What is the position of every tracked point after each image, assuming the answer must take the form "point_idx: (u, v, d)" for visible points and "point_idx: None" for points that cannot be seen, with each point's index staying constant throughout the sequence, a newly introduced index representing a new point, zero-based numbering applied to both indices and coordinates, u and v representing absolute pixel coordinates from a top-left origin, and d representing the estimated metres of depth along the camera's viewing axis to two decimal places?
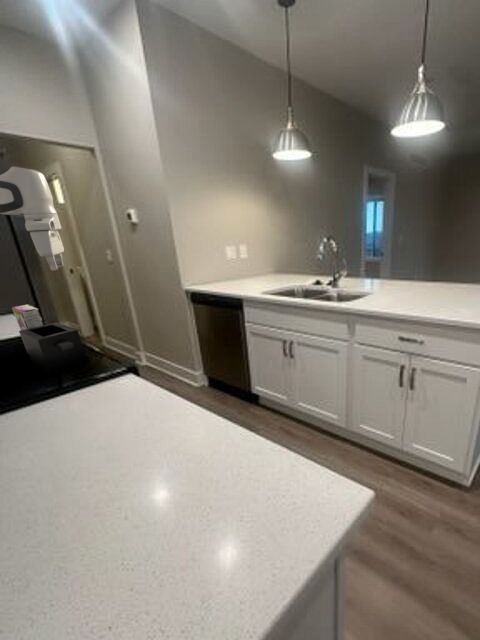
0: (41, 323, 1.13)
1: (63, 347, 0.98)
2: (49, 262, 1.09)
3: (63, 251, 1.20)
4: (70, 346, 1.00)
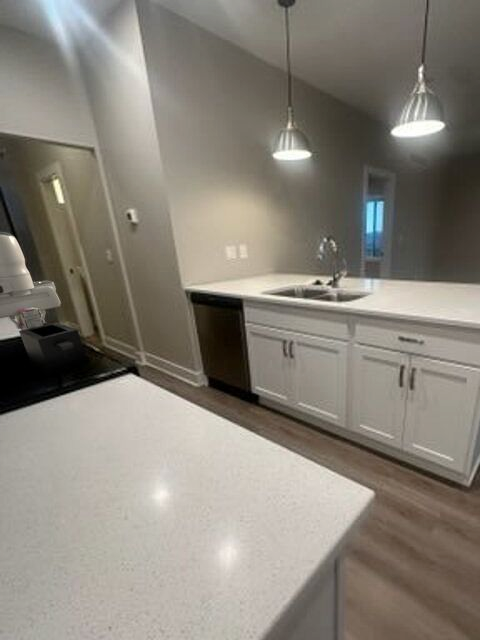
0: (41, 323, 1.13)
1: (63, 347, 0.98)
2: (12, 321, 1.11)
3: (54, 307, 1.18)
4: (70, 346, 1.00)
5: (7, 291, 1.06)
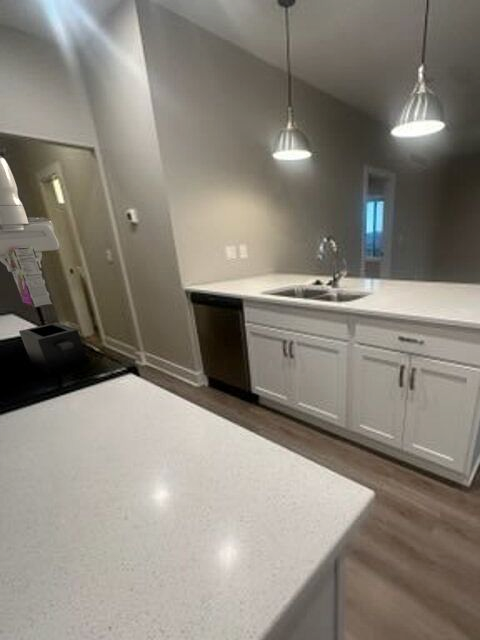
0: (37, 265, 0.97)
1: (63, 347, 0.98)
2: (2, 262, 0.95)
3: (51, 249, 1.02)
4: (70, 346, 1.00)
5: None
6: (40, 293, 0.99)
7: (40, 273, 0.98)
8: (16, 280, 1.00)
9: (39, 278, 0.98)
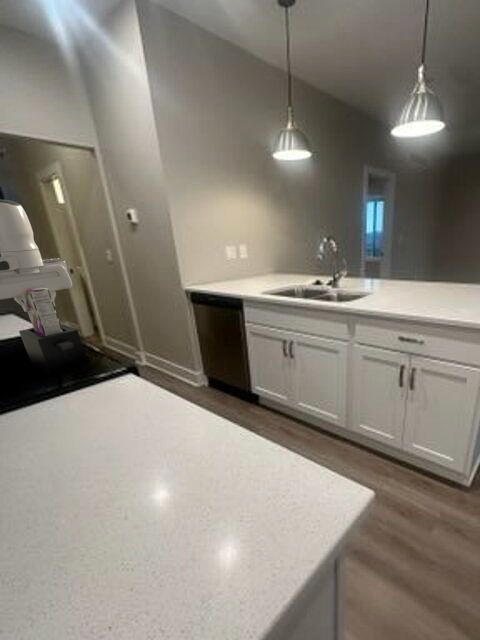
0: (51, 305, 1.01)
1: (63, 347, 0.98)
2: None
3: (65, 288, 1.06)
4: (70, 346, 1.00)
5: (14, 268, 0.94)
6: (54, 331, 1.02)
7: (54, 312, 1.01)
8: (31, 318, 1.04)
9: (54, 318, 1.02)
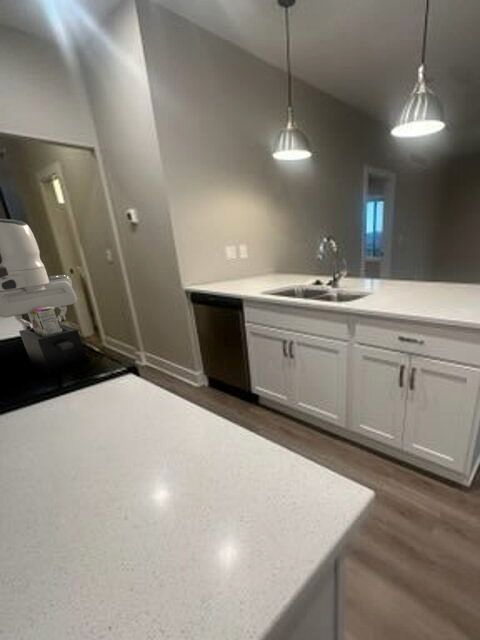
0: (57, 324, 1.03)
1: (63, 347, 0.98)
2: None
3: (70, 304, 1.07)
4: (70, 346, 1.00)
5: (20, 286, 0.95)
6: None
7: (60, 331, 1.04)
8: None
9: None
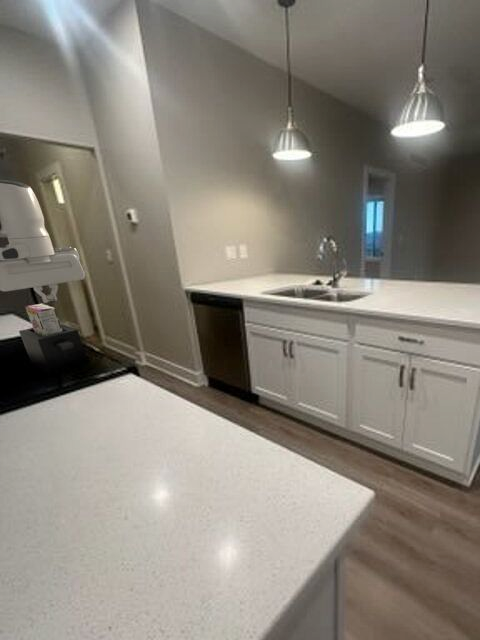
0: (57, 324, 1.03)
1: (63, 347, 0.98)
2: (38, 293, 0.93)
3: (77, 279, 0.98)
4: (70, 346, 1.00)
5: (23, 256, 0.86)
6: None
7: (60, 331, 1.04)
8: None
9: None
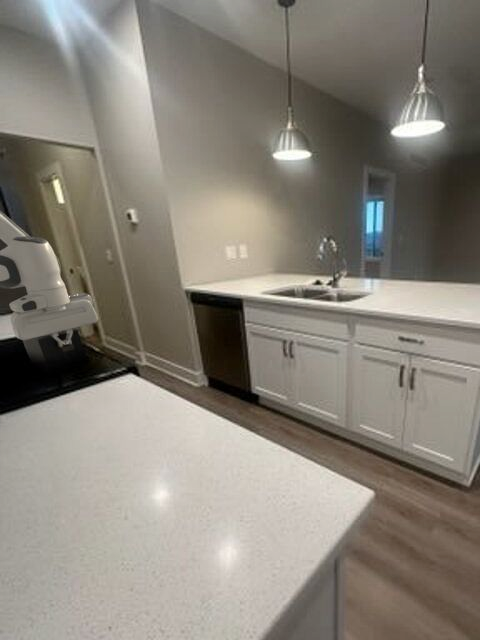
0: None
1: (64, 349, 0.99)
2: (54, 338, 0.98)
3: (90, 323, 1.03)
4: (71, 348, 1.00)
5: (41, 307, 0.91)
6: None
7: None
8: None
9: None
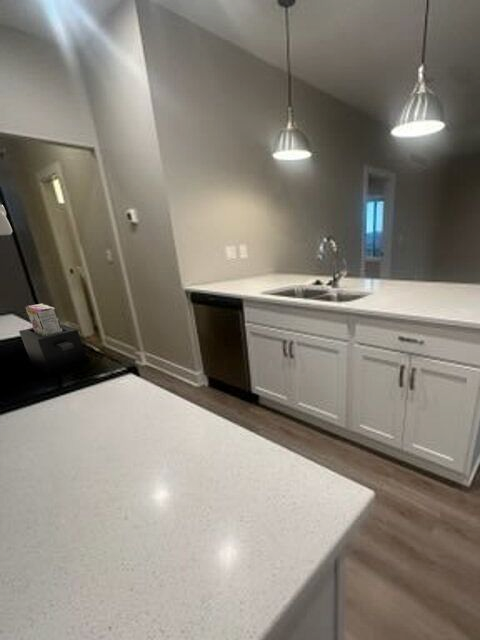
0: (57, 324, 1.03)
1: (63, 347, 0.98)
2: None
3: (3, 234, 0.99)
4: (70, 346, 1.00)
5: None
6: None
7: (60, 331, 1.04)
8: None
9: None
